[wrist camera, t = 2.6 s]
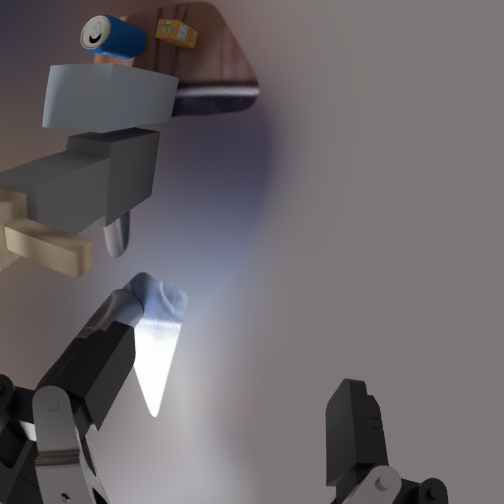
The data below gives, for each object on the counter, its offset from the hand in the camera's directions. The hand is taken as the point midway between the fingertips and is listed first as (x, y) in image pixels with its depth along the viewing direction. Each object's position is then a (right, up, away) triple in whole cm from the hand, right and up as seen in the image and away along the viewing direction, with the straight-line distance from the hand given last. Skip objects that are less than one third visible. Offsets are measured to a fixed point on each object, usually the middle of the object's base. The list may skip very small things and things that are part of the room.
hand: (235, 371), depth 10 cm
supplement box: (-10, +40, +30) cm, 51 cm away
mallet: (-20, +7, +13) cm, 25 cm away
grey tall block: (-17, +31, +35) cm, 50 cm away
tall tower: (-21, +21, +40) cm, 50 cm away
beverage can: (-21, +41, +31) cm, 55 cm away
